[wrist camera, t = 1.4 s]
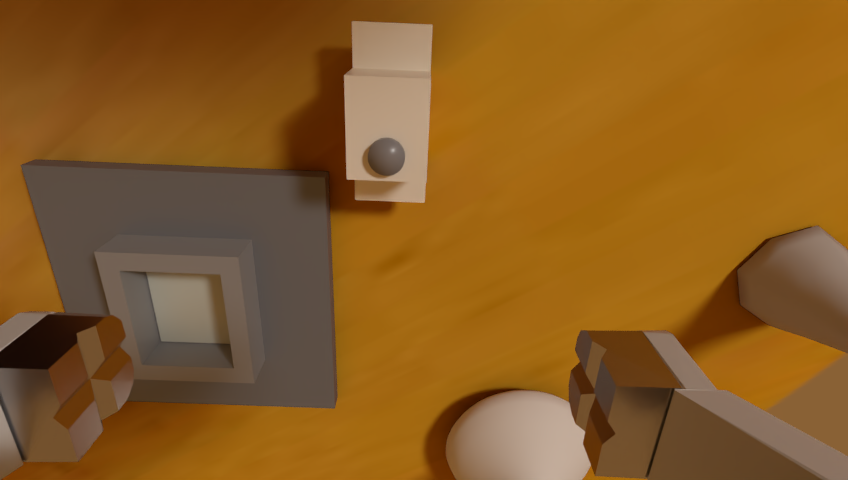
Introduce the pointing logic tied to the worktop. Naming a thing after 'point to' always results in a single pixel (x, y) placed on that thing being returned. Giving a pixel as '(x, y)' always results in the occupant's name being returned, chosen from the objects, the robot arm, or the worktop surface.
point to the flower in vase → (517, 439)
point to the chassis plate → (199, 275)
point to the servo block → (388, 110)
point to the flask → (800, 286)
